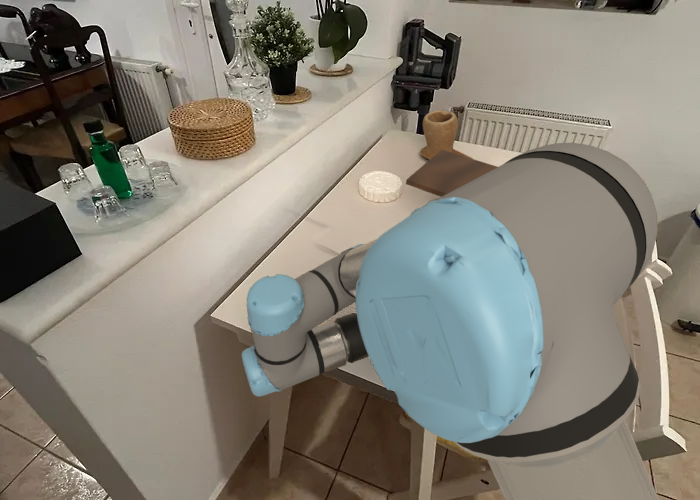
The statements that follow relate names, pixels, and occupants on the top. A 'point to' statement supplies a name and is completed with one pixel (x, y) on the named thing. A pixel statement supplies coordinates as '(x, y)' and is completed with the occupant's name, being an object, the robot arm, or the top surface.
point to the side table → (447, 173)
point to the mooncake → (380, 186)
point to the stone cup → (440, 133)
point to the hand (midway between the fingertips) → (458, 299)
